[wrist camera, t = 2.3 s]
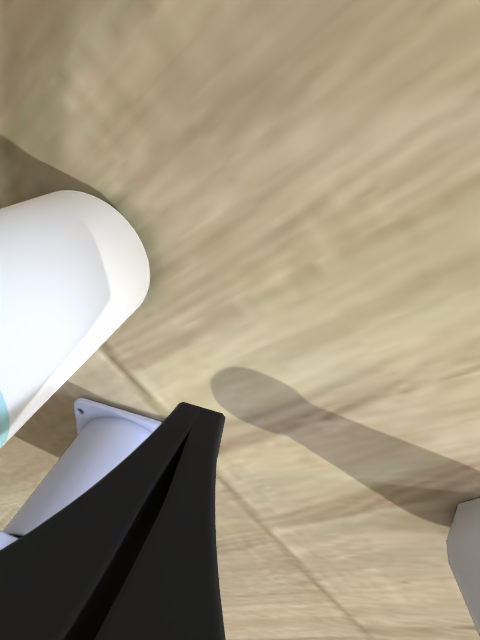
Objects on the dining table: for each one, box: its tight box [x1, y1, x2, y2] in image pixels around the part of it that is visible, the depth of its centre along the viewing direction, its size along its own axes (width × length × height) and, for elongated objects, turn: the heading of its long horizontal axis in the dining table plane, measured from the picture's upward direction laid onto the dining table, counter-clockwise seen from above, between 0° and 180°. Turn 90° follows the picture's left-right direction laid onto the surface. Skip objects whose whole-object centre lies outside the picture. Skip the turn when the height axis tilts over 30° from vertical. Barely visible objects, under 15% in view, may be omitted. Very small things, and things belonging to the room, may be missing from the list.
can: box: [0, 190, 150, 448], centre depth 14 cm, size 7×7×12 cm
